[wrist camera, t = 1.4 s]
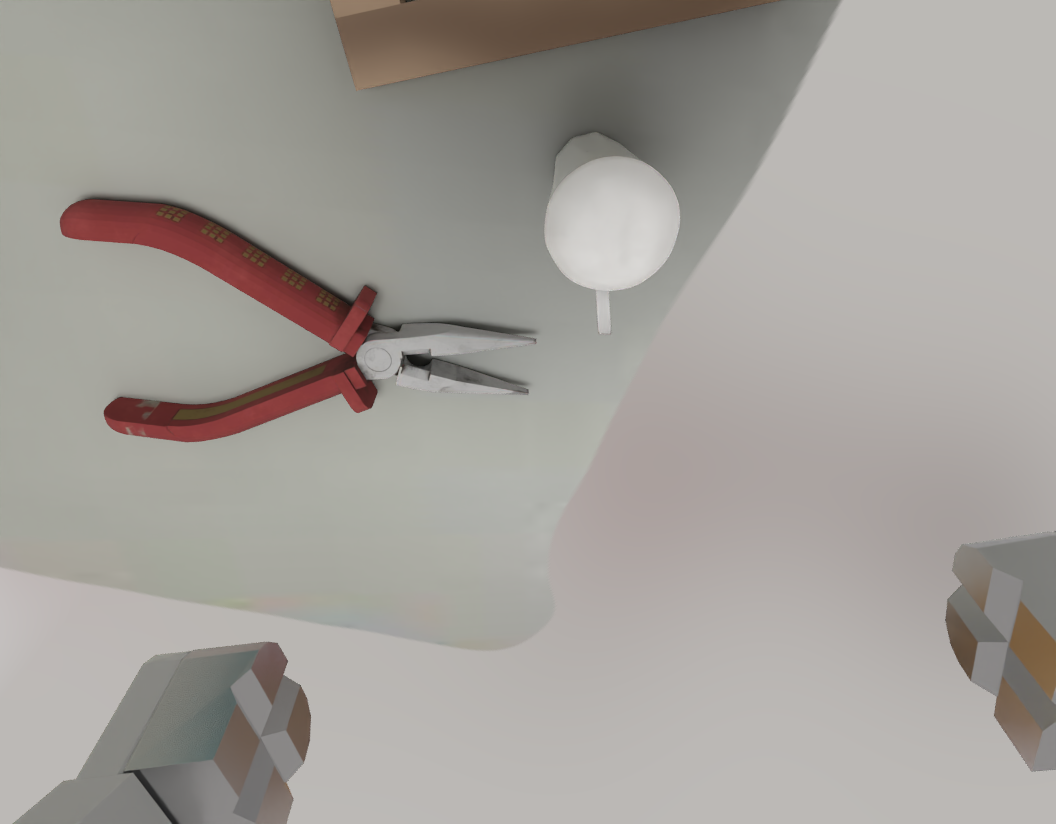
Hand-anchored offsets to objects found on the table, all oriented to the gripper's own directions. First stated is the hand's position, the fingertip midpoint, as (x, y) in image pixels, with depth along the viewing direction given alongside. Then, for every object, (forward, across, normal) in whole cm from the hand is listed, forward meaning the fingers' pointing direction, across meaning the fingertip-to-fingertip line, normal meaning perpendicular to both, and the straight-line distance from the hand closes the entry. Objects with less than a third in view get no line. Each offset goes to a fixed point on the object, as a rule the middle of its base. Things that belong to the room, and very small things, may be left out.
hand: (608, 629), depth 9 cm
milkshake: (+26, -2, 0) cm, 26 cm away
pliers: (+26, +14, +6) cm, 30 cm away
